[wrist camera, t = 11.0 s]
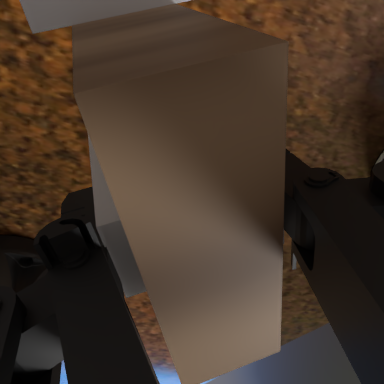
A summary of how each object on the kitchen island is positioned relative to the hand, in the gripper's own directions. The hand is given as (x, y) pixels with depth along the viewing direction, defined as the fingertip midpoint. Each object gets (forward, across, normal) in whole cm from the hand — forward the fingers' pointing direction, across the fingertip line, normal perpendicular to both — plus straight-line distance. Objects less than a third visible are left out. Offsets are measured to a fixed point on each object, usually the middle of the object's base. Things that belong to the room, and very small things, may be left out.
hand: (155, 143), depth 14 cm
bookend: (0, 0, -4) cm, 4 cm away
